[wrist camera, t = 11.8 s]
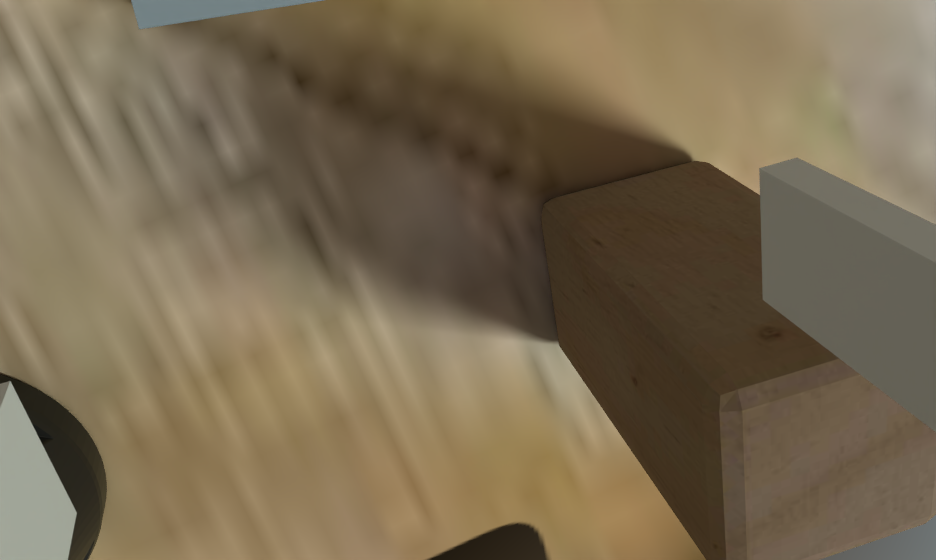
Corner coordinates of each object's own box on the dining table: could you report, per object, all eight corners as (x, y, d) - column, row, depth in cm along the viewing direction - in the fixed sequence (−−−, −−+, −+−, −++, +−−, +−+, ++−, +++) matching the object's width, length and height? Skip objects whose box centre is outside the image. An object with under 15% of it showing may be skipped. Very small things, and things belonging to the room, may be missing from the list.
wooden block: (532, 196, 47) (714, 395, 30) (704, 151, 49) (974, 316, 31) (555, 351, 52) (724, 603, 34) (711, 306, 53) (950, 526, 36)
